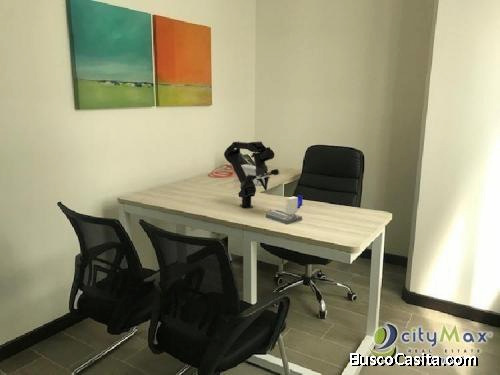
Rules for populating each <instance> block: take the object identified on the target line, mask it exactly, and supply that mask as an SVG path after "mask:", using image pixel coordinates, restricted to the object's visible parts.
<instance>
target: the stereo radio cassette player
mask: <svg viewBox="0 0 500 375" xmlns="http://www.w3.org/2000/svg"><path fill="white" fill-rule="evenodd" d="M242 158H243V159H244V161H247V164H241V166H242V168H243V170H244V172H245V174H246V176H249V175H254V176H255V175H256V172H255V169H256V166H255V165H253V164H252V163H250V162H249V161H248V160H247V159H246V158H245V157H244V156H242ZM264 178H265V177H262V179H263V180H264ZM252 181H253V182H254V185H255V186H258V185H259V186H262V184H261V183H260V181H258V180H256V179H254V180H252ZM264 184H265V181H264Z"/></svg>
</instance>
